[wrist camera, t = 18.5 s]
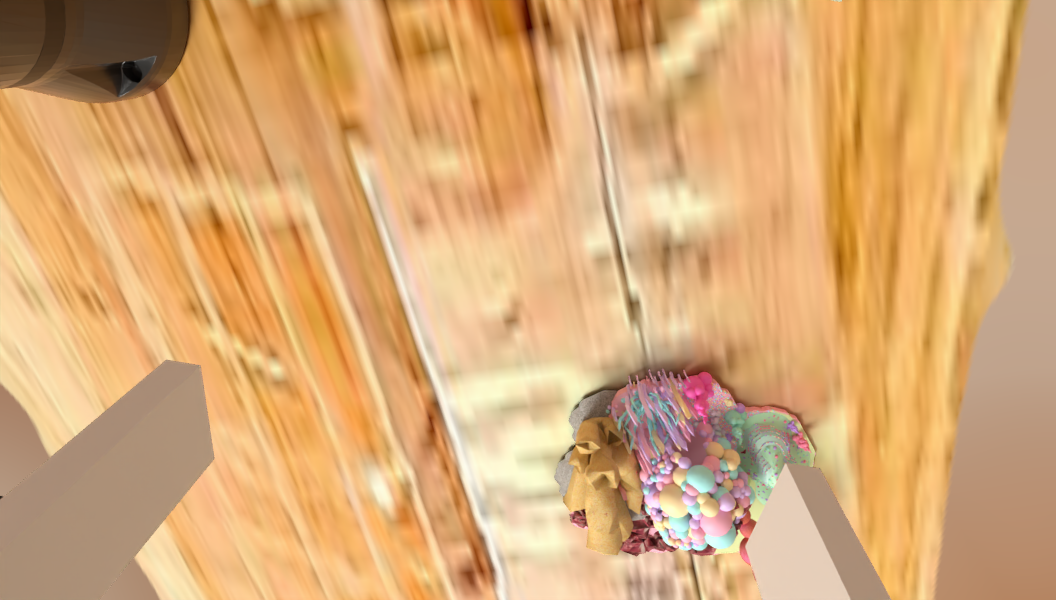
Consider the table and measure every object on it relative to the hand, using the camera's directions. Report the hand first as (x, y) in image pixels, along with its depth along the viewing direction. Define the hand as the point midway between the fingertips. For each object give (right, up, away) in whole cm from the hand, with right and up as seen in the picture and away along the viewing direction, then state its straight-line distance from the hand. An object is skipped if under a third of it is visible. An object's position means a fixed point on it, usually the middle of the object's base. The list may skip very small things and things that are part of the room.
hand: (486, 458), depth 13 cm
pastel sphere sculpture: (+16, -12, +42) cm, 47 cm away
